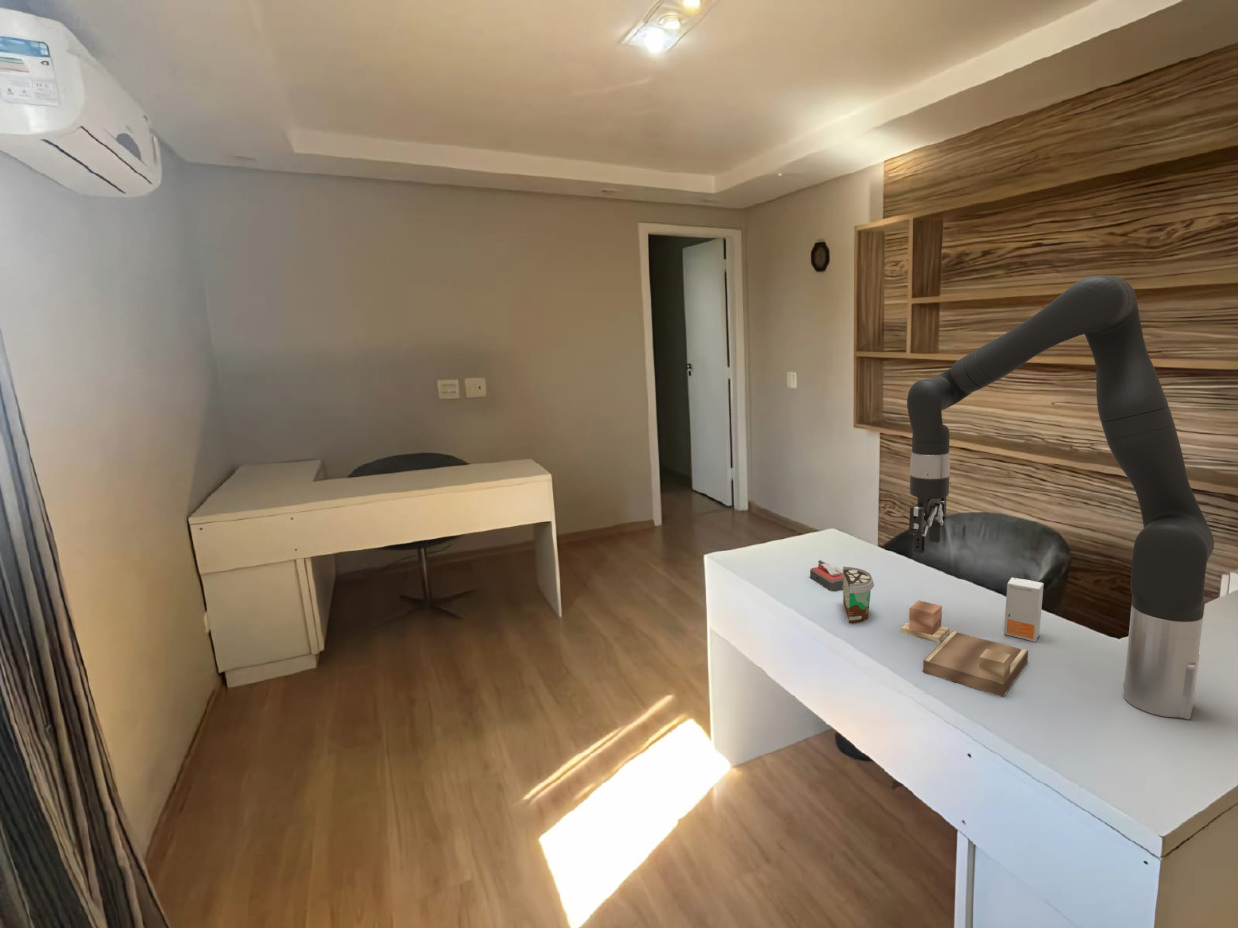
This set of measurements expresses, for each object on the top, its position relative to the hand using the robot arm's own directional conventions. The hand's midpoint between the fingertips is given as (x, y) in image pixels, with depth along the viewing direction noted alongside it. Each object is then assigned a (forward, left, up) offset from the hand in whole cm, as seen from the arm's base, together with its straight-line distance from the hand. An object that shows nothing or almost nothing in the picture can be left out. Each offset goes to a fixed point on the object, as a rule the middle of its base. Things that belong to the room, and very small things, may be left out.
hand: (927, 546), depth 138 cm
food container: (+15, 0, -20) cm, 25 cm away
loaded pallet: (0, 0, -20) cm, 20 cm away
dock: (-13, +9, -20) cm, 25 cm away
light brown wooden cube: (-18, +15, -17) cm, 29 cm away
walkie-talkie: (+32, -17, -20) cm, 42 cm away
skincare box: (-16, -11, -20) cm, 28 cm away
